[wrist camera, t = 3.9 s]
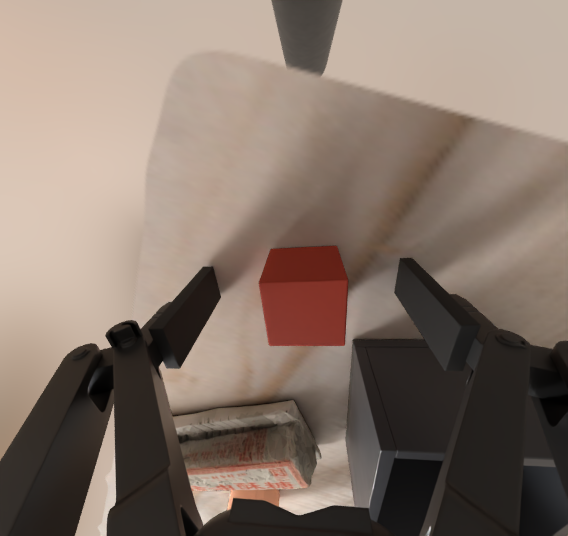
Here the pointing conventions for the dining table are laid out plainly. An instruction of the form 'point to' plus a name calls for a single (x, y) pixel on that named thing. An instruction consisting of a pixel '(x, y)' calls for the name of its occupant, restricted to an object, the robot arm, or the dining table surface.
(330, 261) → the red cube
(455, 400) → the case
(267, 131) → the dining table surface
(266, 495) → the pepper shaker
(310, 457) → the packaged product
